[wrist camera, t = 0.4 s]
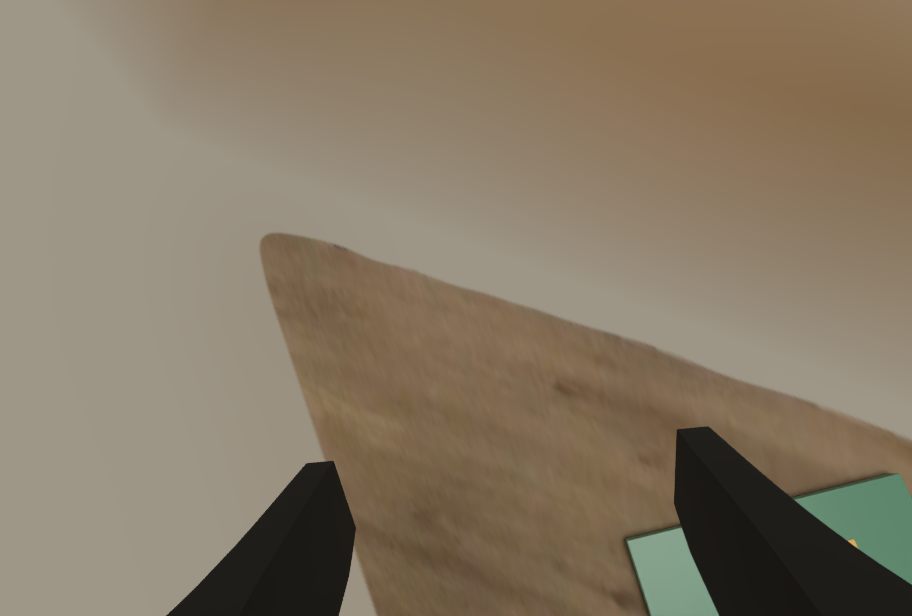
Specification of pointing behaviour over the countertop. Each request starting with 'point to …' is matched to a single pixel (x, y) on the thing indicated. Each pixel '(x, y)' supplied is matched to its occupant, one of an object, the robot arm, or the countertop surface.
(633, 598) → the countertop surface
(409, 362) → the countertop surface
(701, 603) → the header board
